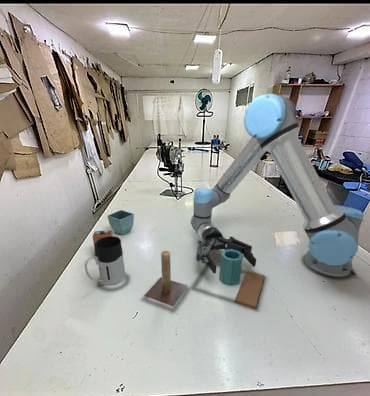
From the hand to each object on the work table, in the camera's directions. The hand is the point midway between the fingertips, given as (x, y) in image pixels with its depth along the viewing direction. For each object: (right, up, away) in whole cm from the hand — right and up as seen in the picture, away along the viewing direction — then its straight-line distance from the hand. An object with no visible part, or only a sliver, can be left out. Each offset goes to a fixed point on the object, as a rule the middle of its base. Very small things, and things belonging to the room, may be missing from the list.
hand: (235, 266), depth 73 cm
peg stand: (-21, -9, 0) cm, 23 cm away
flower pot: (-45, +9, +39) cm, 60 cm away
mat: (-1, -7, +6) cm, 9 cm away
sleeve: (-1, -6, +5) cm, 8 cm away
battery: (-48, +1, +22) cm, 52 cm away
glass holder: (-41, -7, +4) cm, 41 cm away
